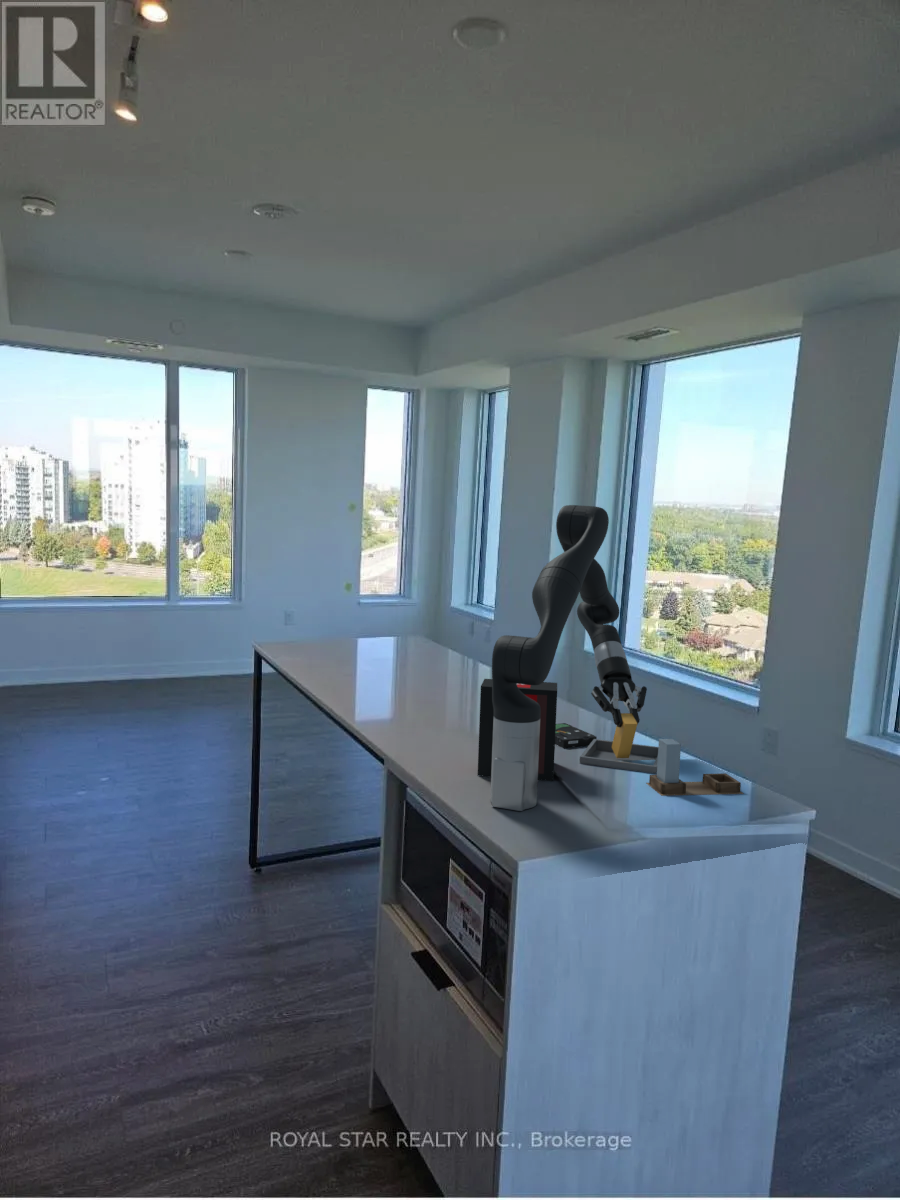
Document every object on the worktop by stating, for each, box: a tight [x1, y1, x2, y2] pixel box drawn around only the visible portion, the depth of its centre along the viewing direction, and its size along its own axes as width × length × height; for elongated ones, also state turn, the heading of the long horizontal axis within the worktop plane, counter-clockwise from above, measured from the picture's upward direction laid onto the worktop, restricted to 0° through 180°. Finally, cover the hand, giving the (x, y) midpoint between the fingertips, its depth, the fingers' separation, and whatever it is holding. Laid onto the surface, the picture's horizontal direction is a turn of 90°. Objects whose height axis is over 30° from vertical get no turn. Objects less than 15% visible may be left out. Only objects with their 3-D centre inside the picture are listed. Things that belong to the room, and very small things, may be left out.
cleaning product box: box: [477, 678, 558, 782], centre depth 173 cm, size 16×9×20 cm, turn 82°
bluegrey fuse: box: [656, 738, 682, 783], centre depth 161 cm, size 4×3×10 cm
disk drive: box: [555, 722, 598, 749], centre depth 204 cm, size 10×3×15 cm
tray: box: [579, 738, 659, 775], centre depth 182 cm, size 17×17×3 cm
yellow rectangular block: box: [612, 712, 638, 758], centre depth 182 cm, size 4×3×10 cm
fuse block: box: [645, 772, 744, 797], centre depth 162 cm, size 8×18×4 cm, turn 99°
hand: (628, 725), depth 180 cm, fingers closed on yellow rectangular block, 3 cm apart
